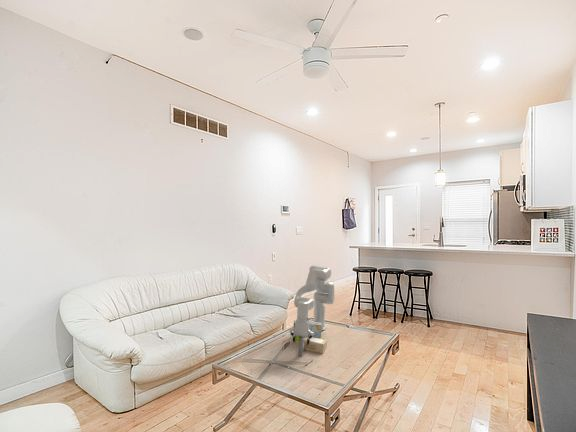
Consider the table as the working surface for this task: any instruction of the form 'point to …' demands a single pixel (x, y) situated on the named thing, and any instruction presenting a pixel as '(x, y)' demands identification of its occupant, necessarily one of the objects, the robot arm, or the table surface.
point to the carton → (315, 344)
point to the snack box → (313, 327)
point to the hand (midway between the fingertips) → (300, 343)
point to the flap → (301, 347)
